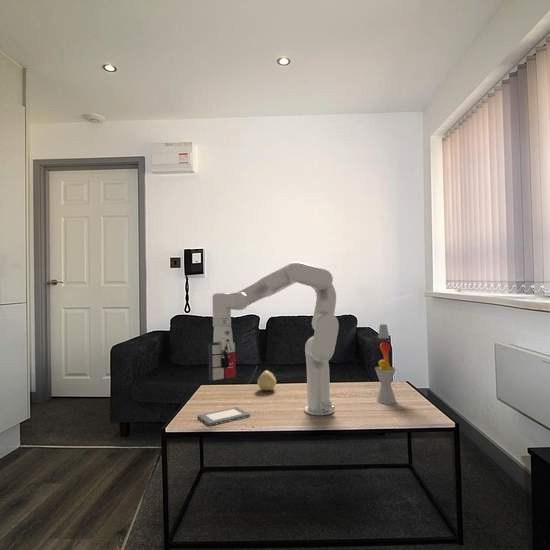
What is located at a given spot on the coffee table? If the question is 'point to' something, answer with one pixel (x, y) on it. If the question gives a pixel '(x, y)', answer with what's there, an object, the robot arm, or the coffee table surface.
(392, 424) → the coffee table surface
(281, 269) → the robot arm
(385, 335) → the lava lamp
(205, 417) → the slate picture frame
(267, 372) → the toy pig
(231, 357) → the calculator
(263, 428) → the coffee table surface
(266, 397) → the coffee table surface
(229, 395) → the coffee table surface
